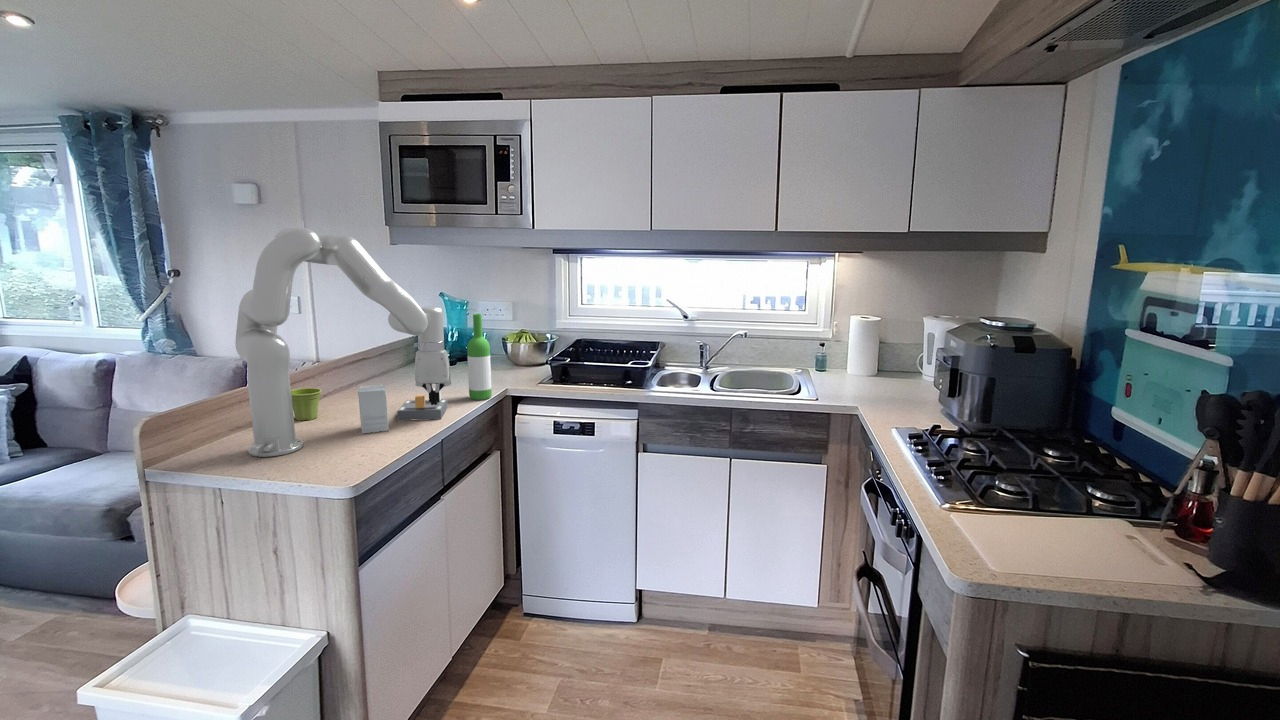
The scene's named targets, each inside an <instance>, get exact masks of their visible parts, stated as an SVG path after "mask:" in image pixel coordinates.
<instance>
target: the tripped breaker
mask: <svg viewBox="0 0 1280 720" xmlns="http://www.w3.org/2000/svg"><path fill="white" fill-rule="evenodd" d="M414 400H415V406H416V408H424V407H425V400H426V395H425V394H417V395H416V396H415V397H414Z"/></svg>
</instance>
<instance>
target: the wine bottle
mask: <svg viewBox="0 0 1280 720" xmlns="http://www.w3.org/2000/svg"><path fill="white" fill-rule="evenodd" d="M482 316H483V315H482V313H473V314H472V319H473V320H472V322H473V323H472V325H473V337H472V338H471V339H470V340H469V341H468V344H467V346H466V347H467V374H468V375H467V377H468V395H469V398H470V399H471V400H474V401H483V400H488V399H490V398H491V397H492V368H491V346H490V342H489V341H488V340H487V338H485V337H484V336H483V334H484V333H483V319H482V318H483V317H482Z"/></svg>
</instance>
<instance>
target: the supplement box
mask: <svg viewBox="0 0 1280 720" xmlns="http://www.w3.org/2000/svg"><path fill="white" fill-rule="evenodd" d="M357 395H358V397H357V398H358V407H359V415H360V416H359V417H360V425H361V434H370V433H371V432H372V433H379V431H382V432H388V431H389V416H388V415H389V414H388V401H387V399H388V398H387V390H386V384H378V385H377V384H376V385H364V386H362V385H361V386H359V388H358V391H357ZM387 430H388V431H387Z"/></svg>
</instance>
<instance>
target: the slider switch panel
mask: <svg viewBox="0 0 1280 720" xmlns="http://www.w3.org/2000/svg"><path fill="white" fill-rule="evenodd" d="M448 408H449V407H448V398H447V399H441V400H440V401H439V402H438V403H437V405H431V402H429V399H425V407H424V408H416V406H415V399H409V400H408V399H407V400H405V401H404V403H403V404H402V405H401V406H399V408H398V410H397V411H396V412H397V413H396V414H397V421H412V420H411V419H429V420H442V418H443V417H444V415H445V414H446V412H447V410H448Z"/></svg>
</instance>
